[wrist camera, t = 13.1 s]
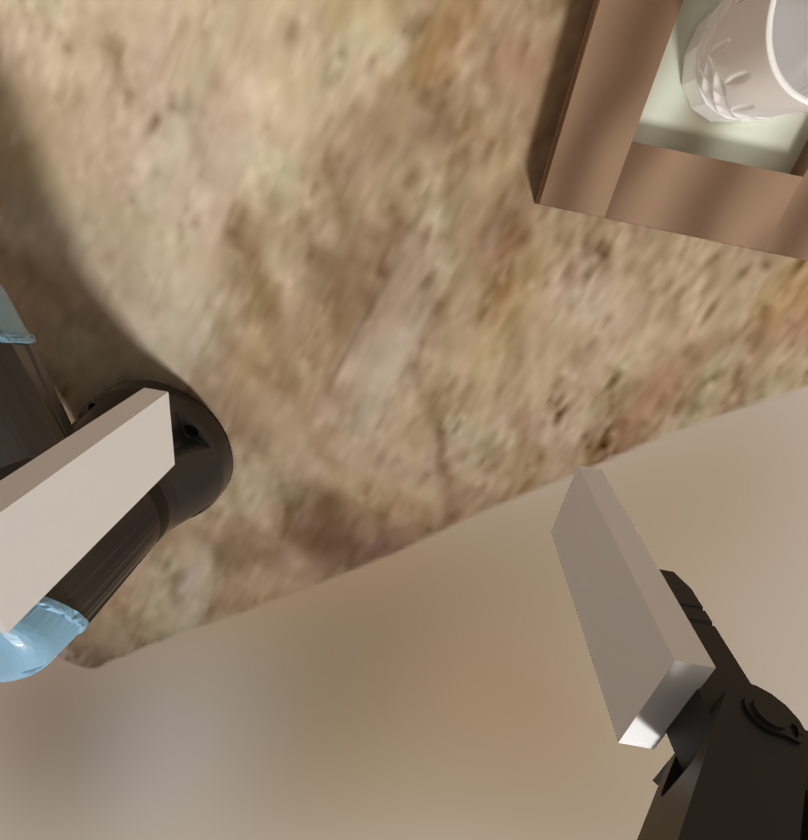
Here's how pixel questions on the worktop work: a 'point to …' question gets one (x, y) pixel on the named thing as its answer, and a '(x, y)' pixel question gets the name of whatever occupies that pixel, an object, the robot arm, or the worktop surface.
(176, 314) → the worktop surface
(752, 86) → the white cup
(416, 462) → the worktop surface
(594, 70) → the wooden picture frame
